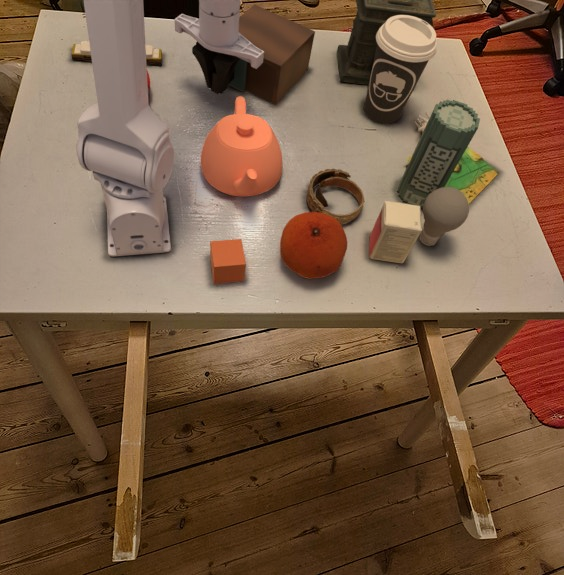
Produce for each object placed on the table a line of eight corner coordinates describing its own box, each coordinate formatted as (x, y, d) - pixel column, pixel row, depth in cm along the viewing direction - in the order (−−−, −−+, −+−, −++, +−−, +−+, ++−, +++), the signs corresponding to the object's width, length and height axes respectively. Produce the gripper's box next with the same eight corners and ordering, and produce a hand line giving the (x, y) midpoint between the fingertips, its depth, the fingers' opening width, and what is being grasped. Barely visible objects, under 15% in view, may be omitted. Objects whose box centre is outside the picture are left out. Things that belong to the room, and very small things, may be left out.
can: (439, 186, 82) (482, 109, 69) (432, 213, 78) (476, 137, 66) (402, 173, 82) (438, 94, 69) (394, 199, 79) (430, 122, 66)
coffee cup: (418, 125, 89) (453, 45, 77) (370, 134, 86) (398, 53, 74) (392, 89, 94) (422, 8, 81) (346, 97, 91) (369, 14, 78)
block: (243, 281, 68) (246, 264, 65) (213, 284, 67) (214, 266, 64) (239, 256, 70) (241, 238, 67) (210, 258, 69) (210, 241, 66)
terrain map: (463, 209, 80) (465, 207, 80) (405, 160, 82) (406, 158, 82) (499, 172, 86) (500, 171, 85) (443, 127, 88) (444, 126, 87)
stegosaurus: (414, 117, 84) (433, 138, 84) (429, 108, 89) (447, 128, 89) (404, 127, 86) (422, 148, 86) (419, 118, 91) (437, 138, 91)
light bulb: (420, 217, 78) (446, 170, 69) (453, 240, 76) (484, 194, 68) (399, 240, 75) (424, 193, 67) (434, 264, 74) (463, 219, 65)
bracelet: (320, 172, 80) (323, 158, 77) (370, 196, 79) (376, 183, 76) (295, 208, 75) (298, 195, 73) (348, 234, 74) (353, 221, 72)
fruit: (273, 280, 70) (279, 258, 62) (282, 222, 73) (289, 194, 65) (337, 291, 70) (351, 270, 63) (343, 232, 73) (357, 206, 65)
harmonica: (72, 61, 87) (70, 50, 85) (74, 50, 88) (72, 39, 86) (161, 66, 89) (160, 55, 87) (162, 55, 90) (161, 44, 89)
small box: (402, 240, 75) (421, 205, 68) (403, 264, 73) (423, 230, 66) (368, 235, 75) (384, 199, 68) (368, 259, 72) (384, 224, 66)
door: (227, 107, 85) (229, 72, 79) (201, 94, 86) (200, 59, 80) (245, 90, 88) (247, 55, 82) (219, 78, 89) (220, 42, 83)
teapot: (274, 134, 83) (281, 84, 75) (288, 222, 74) (299, 175, 66) (198, 134, 81) (197, 82, 73) (203, 223, 72) (203, 176, 64)
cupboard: (275, 105, 87) (281, 65, 81) (215, 76, 89) (216, 36, 83) (307, 70, 93) (315, 31, 87) (251, 44, 95) (254, 4, 89)
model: (340, 84, 92) (362, 1, 80) (334, 53, 97) (354, -30, 84) (413, 90, 94) (445, 10, 82) (404, 59, 99) (433, -21, 86)
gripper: (277, 13, 73) (268, 93, 85) (192, -25, 76) (194, 58, 87) (252, 35, 70) (246, 116, 81) (163, -5, 72) (169, 79, 84)
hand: (217, 87), depth 84 cm, fingers closed on door
